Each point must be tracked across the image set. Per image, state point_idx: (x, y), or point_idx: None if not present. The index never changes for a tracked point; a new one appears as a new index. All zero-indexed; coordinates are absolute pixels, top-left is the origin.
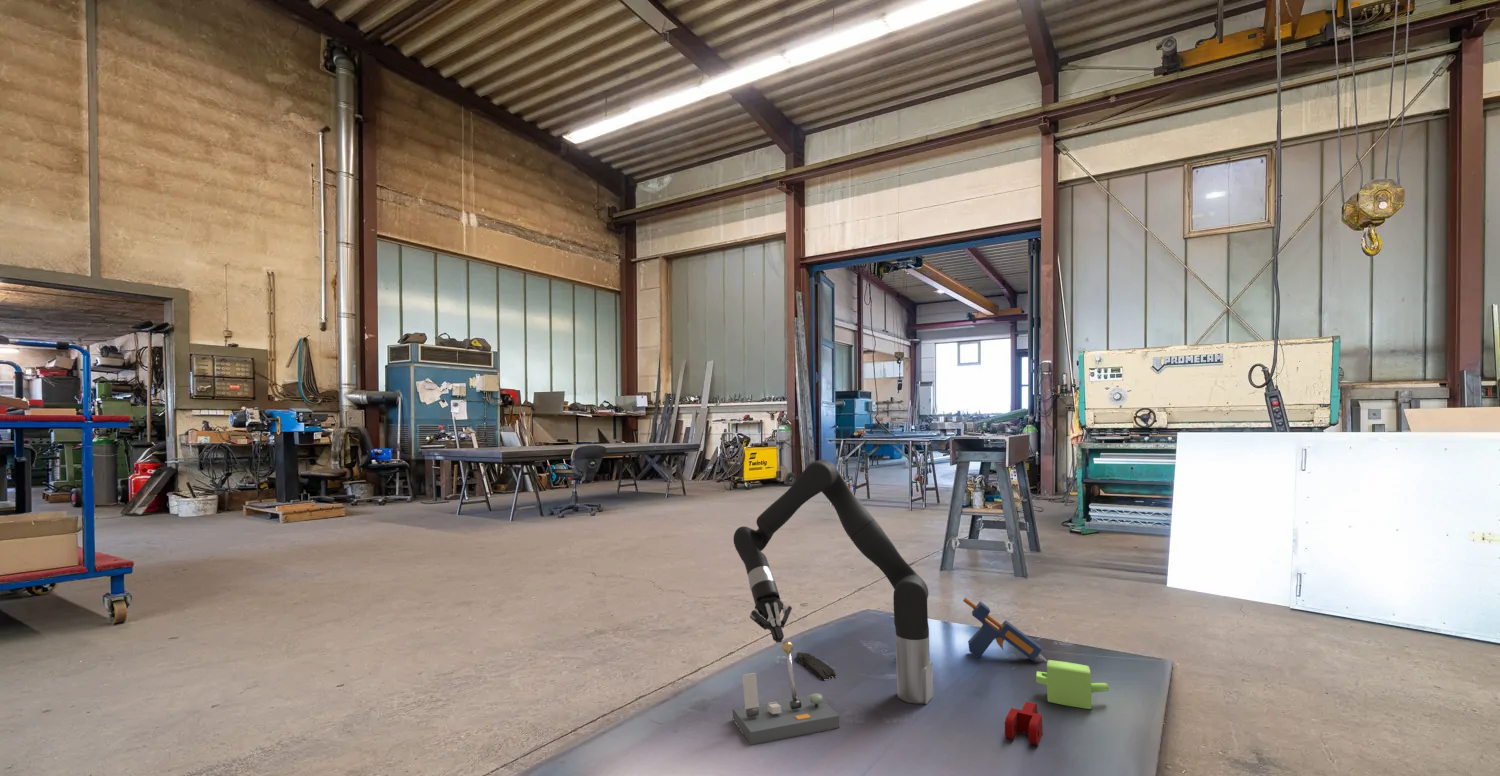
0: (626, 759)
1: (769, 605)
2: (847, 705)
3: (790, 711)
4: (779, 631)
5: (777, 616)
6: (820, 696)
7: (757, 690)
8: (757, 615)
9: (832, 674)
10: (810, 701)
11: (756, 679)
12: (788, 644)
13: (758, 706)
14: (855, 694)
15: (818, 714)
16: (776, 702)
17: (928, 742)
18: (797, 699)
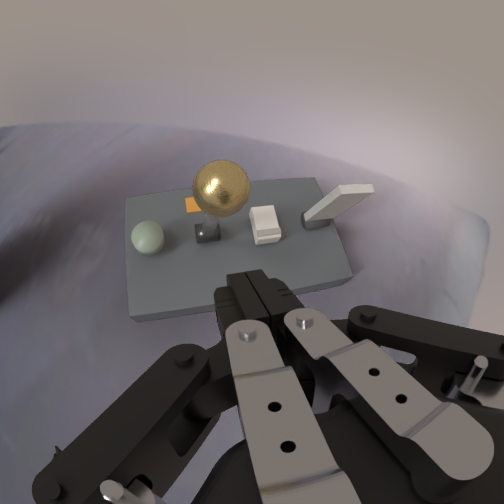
0: (445, 205)
1: (437, 460)
2: (71, 301)
3: (221, 234)
4: (247, 294)
5: (270, 371)
6: (138, 228)
7: (318, 202)
8: (471, 341)
9: None
10: (164, 241)
11: (330, 192)
12: (221, 160)
13: (305, 213)
14: (38, 350)
15: (163, 208)
16: (258, 230)
17: (47, 158)
18: (185, 295)
